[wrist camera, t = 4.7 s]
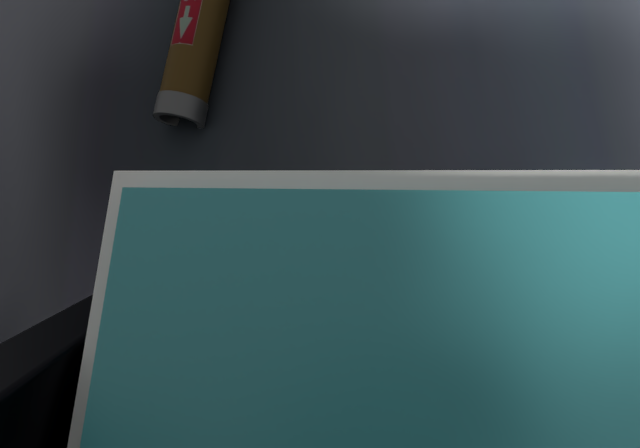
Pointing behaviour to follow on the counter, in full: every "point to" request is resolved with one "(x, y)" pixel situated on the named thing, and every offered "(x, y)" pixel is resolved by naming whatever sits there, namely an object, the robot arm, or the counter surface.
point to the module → (365, 311)
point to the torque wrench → (191, 62)
